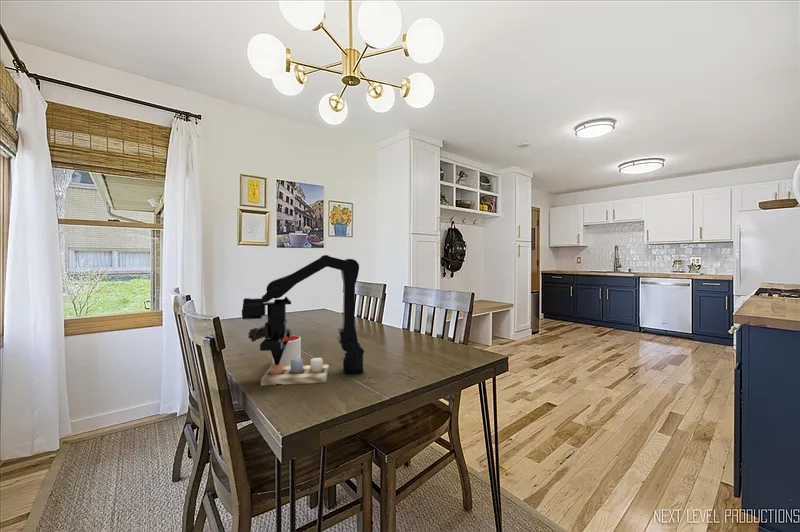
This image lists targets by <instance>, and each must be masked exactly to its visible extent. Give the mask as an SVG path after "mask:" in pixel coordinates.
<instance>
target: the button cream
mask: <svg viewBox="0 0 800 532" xmlns="http://www.w3.org/2000/svg"><path fill="white" fill-rule="evenodd" d="M323 359H324V358H323V357H313V358H311V359H310V365H311V373H321V372H322V371H323V365H324V360H323Z"/></svg>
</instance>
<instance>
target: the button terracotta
mask: <svg viewBox="0 0 800 532" xmlns="http://www.w3.org/2000/svg"><path fill="white" fill-rule="evenodd" d="M269 368H270V375H283V363H279V365H275V363H273V362H272V363H270V365H269Z"/></svg>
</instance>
